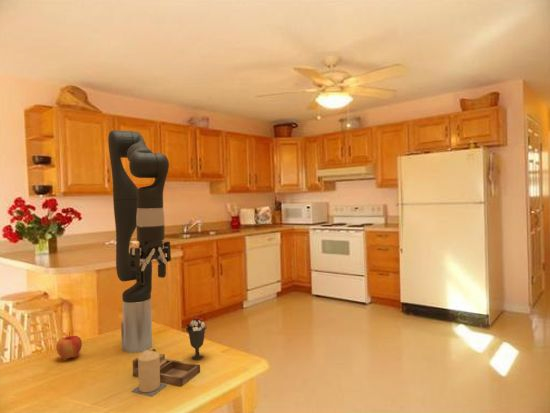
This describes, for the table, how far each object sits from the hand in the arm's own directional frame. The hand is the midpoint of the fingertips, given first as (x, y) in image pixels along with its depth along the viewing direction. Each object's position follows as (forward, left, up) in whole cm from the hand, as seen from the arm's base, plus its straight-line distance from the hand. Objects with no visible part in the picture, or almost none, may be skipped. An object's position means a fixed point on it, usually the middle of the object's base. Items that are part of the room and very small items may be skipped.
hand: (151, 280), depth 108 cm
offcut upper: (-3, +3, -26) cm, 26 cm away
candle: (+3, -5, -28) cm, 29 cm away
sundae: (+4, +16, -29) cm, 33 cm away
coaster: (+3, -5, -29) cm, 29 cm away
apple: (-36, +2, -29) cm, 46 cm away
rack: (+2, +3, -29) cm, 29 cm away
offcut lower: (-3, +3, -28) cm, 28 cm away
